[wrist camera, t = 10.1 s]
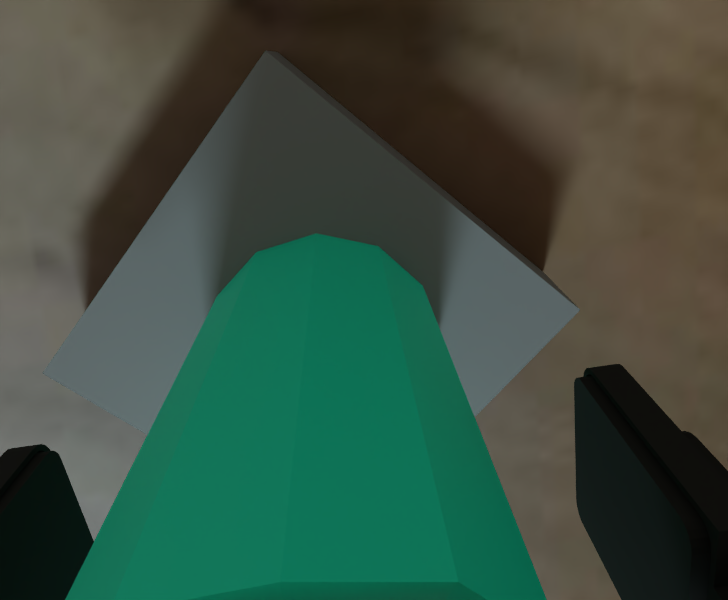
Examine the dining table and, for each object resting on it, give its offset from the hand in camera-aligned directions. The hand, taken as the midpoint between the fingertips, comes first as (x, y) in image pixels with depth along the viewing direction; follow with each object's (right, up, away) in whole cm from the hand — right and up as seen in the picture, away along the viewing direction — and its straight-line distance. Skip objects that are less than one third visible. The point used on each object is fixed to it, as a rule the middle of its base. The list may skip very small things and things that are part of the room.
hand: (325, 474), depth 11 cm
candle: (0, +2, +5) cm, 6 cm away
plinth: (-1, +3, +8) cm, 8 cm away
